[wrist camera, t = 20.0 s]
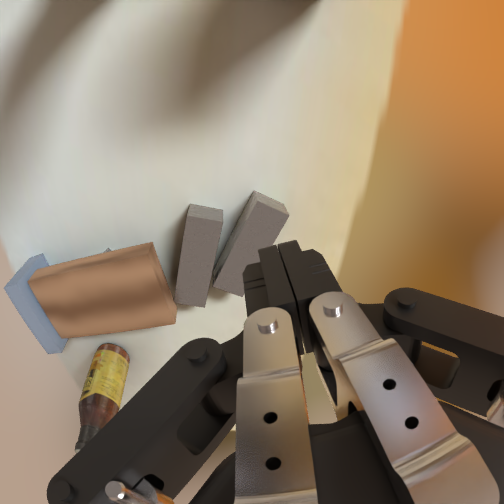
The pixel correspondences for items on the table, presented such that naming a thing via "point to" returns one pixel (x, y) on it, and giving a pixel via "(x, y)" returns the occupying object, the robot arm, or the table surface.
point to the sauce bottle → (102, 391)
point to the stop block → (34, 306)
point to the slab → (105, 293)
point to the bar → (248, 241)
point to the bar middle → (198, 254)
